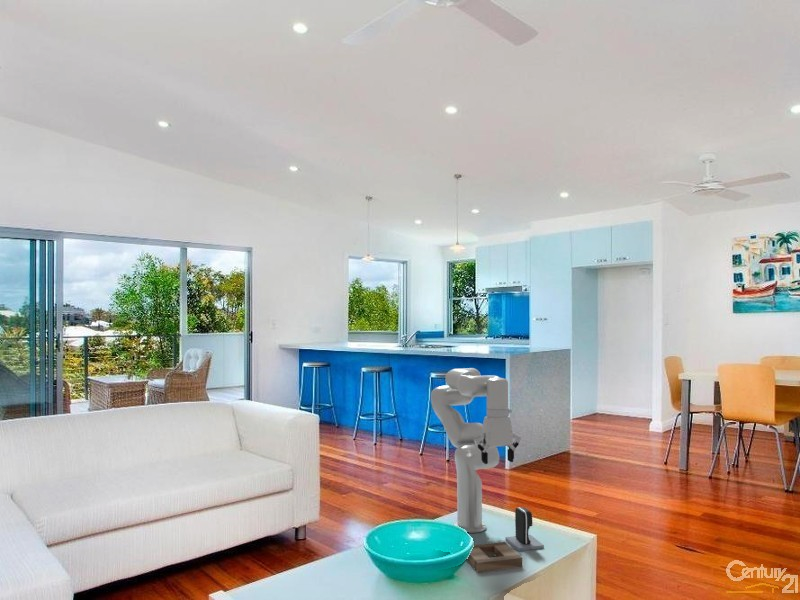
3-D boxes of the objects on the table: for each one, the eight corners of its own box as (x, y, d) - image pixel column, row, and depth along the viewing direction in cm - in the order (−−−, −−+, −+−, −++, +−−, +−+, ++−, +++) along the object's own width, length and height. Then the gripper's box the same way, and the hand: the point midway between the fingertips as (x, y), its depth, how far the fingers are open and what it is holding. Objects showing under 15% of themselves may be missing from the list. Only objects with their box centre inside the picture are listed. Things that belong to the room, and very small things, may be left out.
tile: (505, 540, 207) (505, 537, 207) (530, 537, 209) (530, 534, 210) (517, 551, 197) (517, 548, 197) (543, 548, 200) (543, 545, 200)
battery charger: (534, 544, 201) (533, 511, 201) (524, 545, 200) (524, 512, 200) (524, 536, 207) (524, 505, 208) (514, 537, 206) (514, 506, 207)
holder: (462, 555, 194) (462, 546, 194) (504, 550, 198) (504, 541, 198) (477, 572, 181) (477, 562, 181) (522, 566, 185) (522, 557, 185)
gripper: (515, 410, 206) (515, 458, 205) (470, 412, 201) (470, 461, 201) (524, 414, 199) (525, 463, 198) (478, 416, 194) (478, 466, 194)
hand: (497, 462), depth 200 cm, fingers open, 9 cm apart
